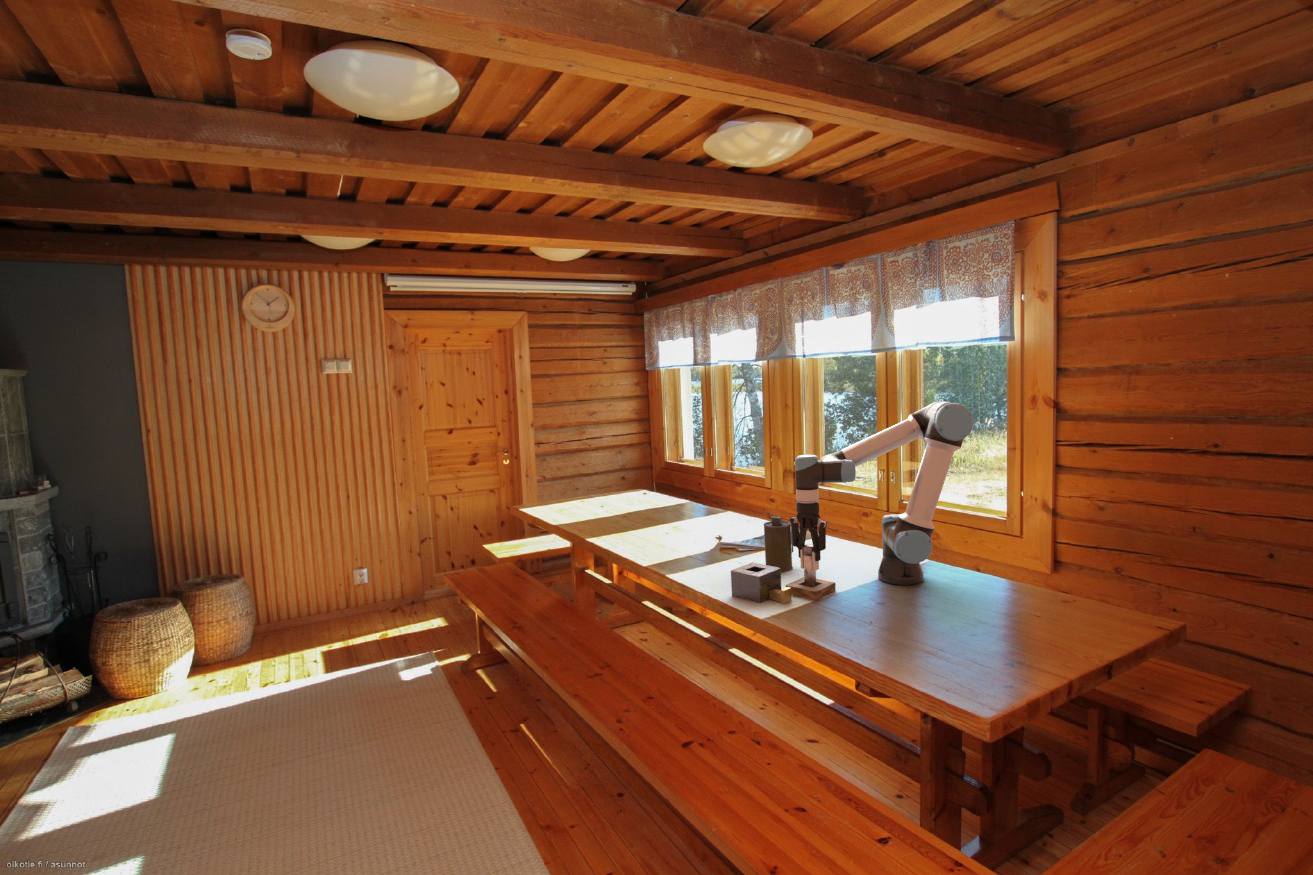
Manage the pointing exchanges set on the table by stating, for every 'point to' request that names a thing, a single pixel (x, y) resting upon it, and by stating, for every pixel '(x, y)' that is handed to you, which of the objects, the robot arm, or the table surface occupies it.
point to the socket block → (755, 581)
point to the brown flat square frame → (812, 589)
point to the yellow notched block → (780, 595)
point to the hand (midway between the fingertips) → (809, 568)
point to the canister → (778, 543)
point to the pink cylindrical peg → (808, 566)
